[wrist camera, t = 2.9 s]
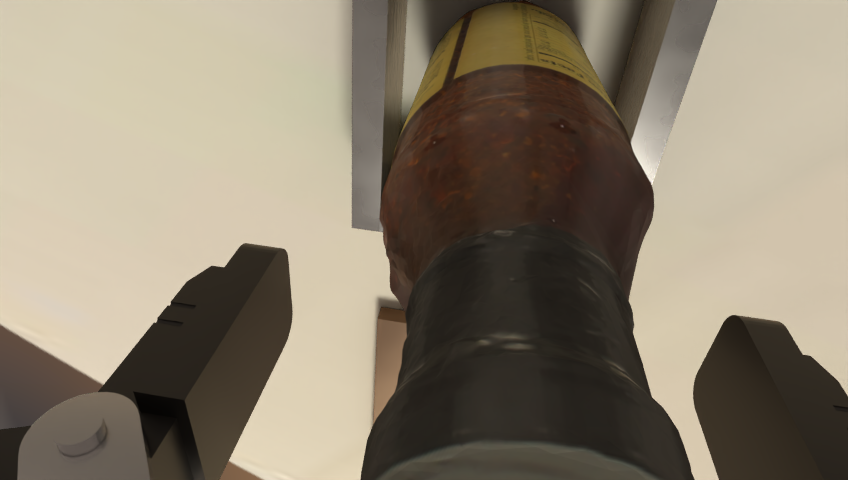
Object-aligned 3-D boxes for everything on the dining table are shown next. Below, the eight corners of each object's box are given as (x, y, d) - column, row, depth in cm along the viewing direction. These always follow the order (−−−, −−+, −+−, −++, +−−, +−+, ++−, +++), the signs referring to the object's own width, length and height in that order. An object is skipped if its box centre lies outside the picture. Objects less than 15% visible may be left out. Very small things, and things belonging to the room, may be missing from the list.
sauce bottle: (473, 163, 25) (387, 692, 9) (406, 39, 23) (107, 467, 6) (614, 102, 23) (852, 679, 6) (557, -45, 20) (715, 297, 4)
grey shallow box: (706, -89, 19) (745, -81, 15) (609, 217, 26) (622, 267, 22) (381, -120, 20) (352, -119, 16) (372, 184, 27) (351, 227, 23)
